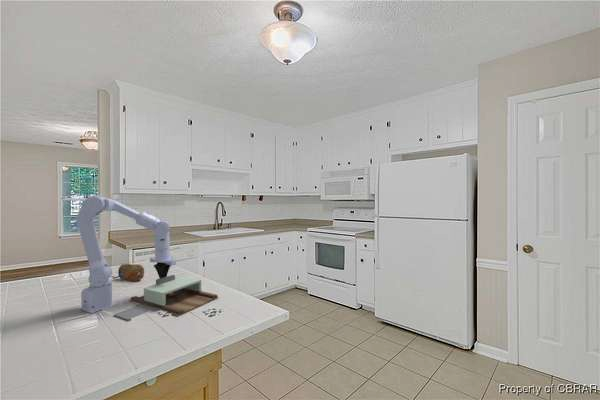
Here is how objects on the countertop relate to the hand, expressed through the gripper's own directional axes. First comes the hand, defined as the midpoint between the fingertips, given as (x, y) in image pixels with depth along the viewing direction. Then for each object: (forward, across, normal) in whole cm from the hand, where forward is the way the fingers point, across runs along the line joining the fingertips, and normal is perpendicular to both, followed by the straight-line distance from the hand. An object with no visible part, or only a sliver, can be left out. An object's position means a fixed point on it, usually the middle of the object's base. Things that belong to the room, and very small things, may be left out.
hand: (163, 280), depth 120 cm
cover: (+6, -7, 0) cm, 9 cm away
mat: (+7, -5, +16) cm, 18 cm away
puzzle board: (+7, -7, 0) cm, 10 cm away
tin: (+8, +37, -8) cm, 38 cm away
